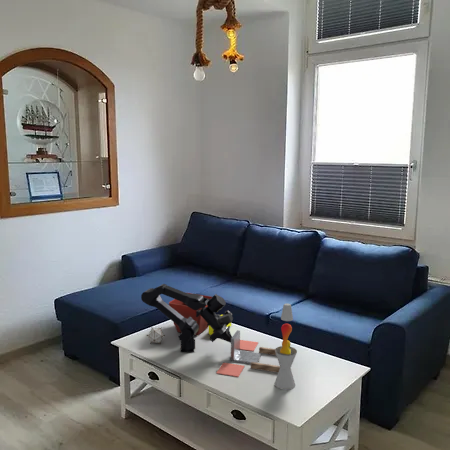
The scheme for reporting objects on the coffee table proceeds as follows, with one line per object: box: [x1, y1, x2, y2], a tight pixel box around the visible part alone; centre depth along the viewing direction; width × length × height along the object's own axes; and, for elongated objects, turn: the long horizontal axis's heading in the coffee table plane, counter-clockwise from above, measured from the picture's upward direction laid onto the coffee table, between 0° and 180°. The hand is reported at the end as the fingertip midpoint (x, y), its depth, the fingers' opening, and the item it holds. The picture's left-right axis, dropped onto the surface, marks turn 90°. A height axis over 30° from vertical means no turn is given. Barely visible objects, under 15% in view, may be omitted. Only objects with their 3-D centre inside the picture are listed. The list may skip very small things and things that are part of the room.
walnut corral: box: [250, 346, 280, 373], centre depth 213 cm, size 15×17×2 cm
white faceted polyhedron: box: [146, 326, 166, 345], centre depth 233 cm, size 9×8×10 cm
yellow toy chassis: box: [208, 314, 232, 336], centre depth 247 cm, size 16×6×8 cm, turn 151°
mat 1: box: [215, 362, 245, 378], centre depth 206 cm, size 10×10×1 cm
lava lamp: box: [274, 303, 298, 391], centre depth 191 cm, size 9×9×35 cm
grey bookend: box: [230, 330, 262, 365], centre depth 216 cm, size 12×10×11 cm
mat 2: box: [240, 339, 259, 352], centre depth 230 cm, size 10×10×1 cm
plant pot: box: [168, 292, 213, 337], centre depth 248 cm, size 19×19×17 cm
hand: (233, 342), depth 218 cm, fingers closed, pressing on grey bookend
